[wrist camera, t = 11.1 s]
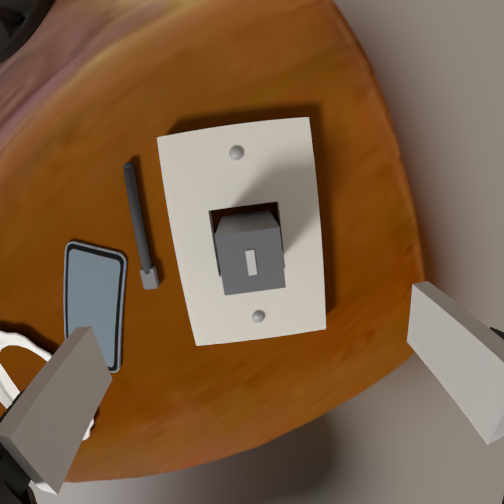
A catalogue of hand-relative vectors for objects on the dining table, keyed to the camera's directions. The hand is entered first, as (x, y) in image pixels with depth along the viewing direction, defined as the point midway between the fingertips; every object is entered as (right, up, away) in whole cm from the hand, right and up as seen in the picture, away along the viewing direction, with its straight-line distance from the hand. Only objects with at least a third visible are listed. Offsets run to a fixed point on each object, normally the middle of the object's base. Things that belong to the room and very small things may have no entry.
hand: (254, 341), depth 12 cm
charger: (0, +5, +18) cm, 19 cm away
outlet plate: (-1, +5, +18) cm, 19 cm away
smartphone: (-18, -3, +20) cm, 27 cm away
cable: (-11, +6, +17) cm, 21 cm away
